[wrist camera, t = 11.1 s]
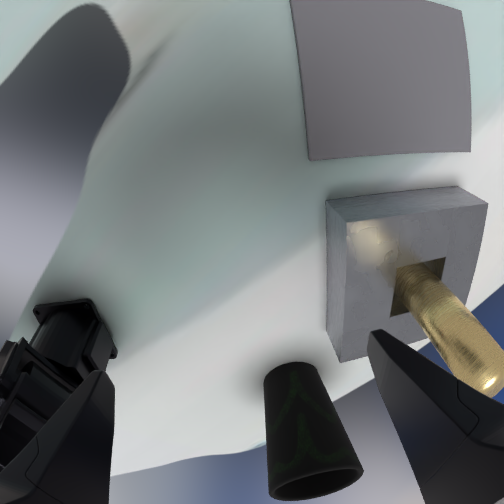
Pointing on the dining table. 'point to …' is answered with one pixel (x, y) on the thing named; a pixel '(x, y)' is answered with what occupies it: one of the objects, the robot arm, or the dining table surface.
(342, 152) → the mat
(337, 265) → the grey square hole block
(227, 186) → the dining table surface
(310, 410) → the cup
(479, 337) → the pin
